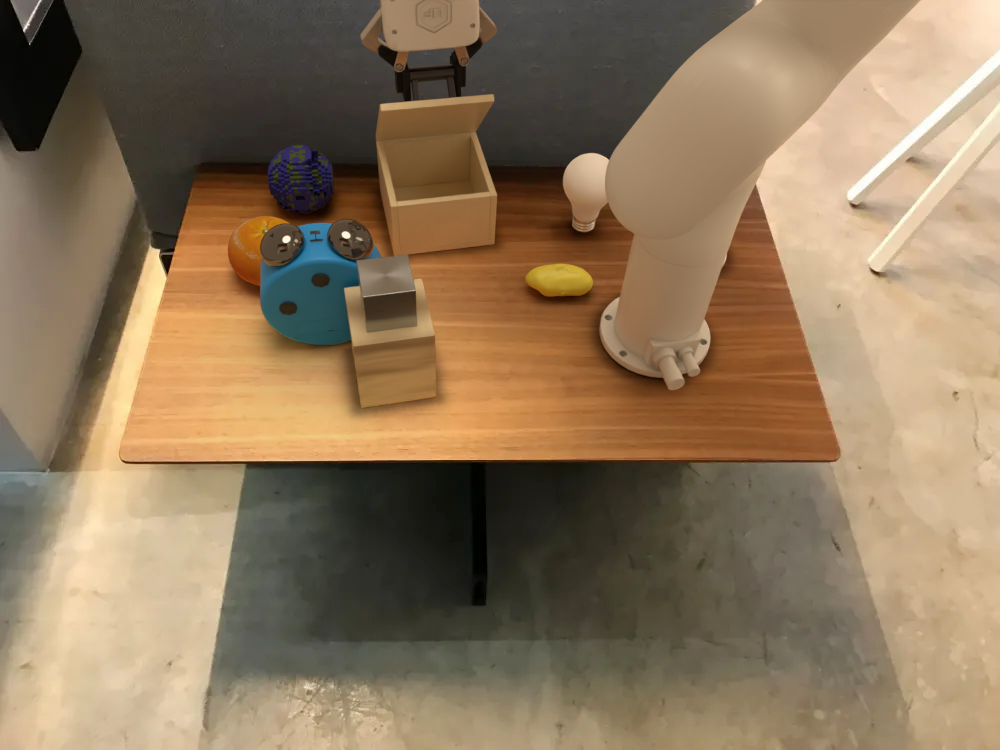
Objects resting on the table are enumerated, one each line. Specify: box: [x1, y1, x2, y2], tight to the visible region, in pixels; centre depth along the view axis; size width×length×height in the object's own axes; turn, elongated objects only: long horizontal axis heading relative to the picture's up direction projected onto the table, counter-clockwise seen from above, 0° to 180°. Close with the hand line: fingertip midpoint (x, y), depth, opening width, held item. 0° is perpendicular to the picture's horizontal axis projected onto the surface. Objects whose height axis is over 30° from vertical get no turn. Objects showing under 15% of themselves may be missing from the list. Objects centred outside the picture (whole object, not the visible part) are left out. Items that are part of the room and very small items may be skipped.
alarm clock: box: [259, 218, 383, 346], centre depth 91 cm, size 13×6×15 cm, turn 100°
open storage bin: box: [375, 131, 498, 256], centre depth 106 cm, size 13×13×8 cm
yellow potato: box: [524, 262, 594, 298], centre depth 100 cm, size 4×8×4 cm, turn 85°
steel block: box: [356, 254, 417, 333], centre depth 83 cm, size 5×5×5 cm
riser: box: [344, 277, 437, 409], centre depth 89 cm, size 8×8×10 cm
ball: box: [267, 144, 335, 215], centre depth 107 cm, size 8×8×8 cm
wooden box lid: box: [375, 63, 495, 142], centre depth 100 cm, size 13×13×5 cm
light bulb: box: [562, 152, 610, 233], centre depth 105 cm, size 7×7×11 cm
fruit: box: [227, 215, 291, 287], centre depth 99 cm, size 8×8×8 cm
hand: (430, 92), depth 98 cm, fingers closed on wooden box lid, 5 cm apart
